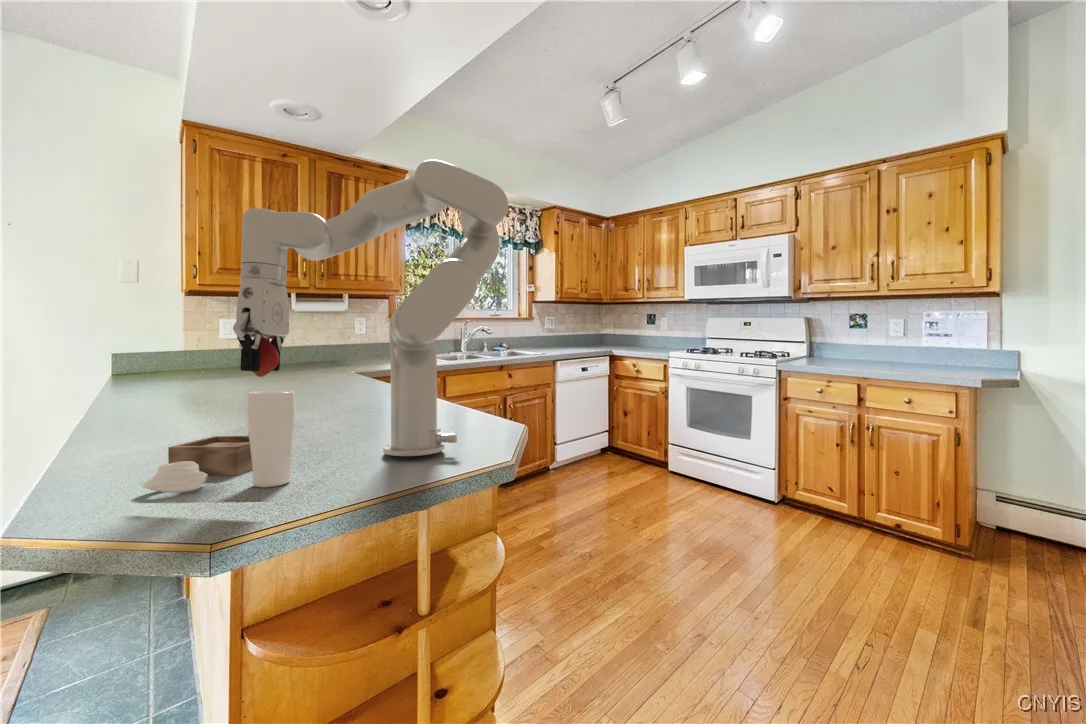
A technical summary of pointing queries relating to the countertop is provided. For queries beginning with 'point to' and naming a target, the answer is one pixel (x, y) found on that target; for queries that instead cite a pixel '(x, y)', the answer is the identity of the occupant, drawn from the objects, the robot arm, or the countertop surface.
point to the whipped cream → (177, 478)
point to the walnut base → (215, 455)
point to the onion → (267, 357)
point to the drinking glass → (271, 436)
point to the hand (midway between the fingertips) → (260, 369)
